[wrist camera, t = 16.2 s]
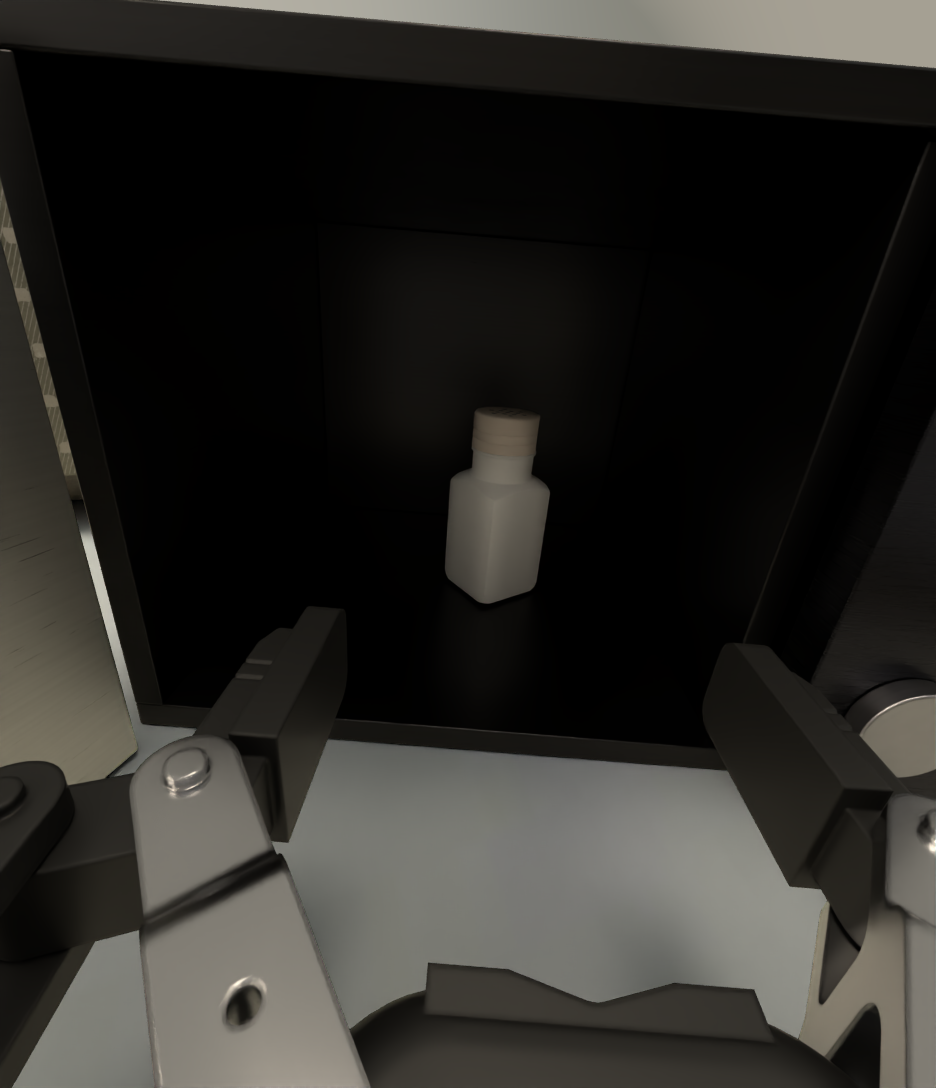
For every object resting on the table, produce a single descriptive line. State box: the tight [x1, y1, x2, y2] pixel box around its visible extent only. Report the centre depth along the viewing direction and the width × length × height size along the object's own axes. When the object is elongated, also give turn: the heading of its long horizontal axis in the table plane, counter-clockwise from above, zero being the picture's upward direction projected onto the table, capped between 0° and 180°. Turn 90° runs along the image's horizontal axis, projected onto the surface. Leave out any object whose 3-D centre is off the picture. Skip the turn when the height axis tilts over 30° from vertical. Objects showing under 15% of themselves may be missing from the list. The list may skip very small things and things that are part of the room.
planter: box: [0, 180, 83, 500], centre depth 36 cm, size 25×25×24 cm
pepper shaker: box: [445, 407, 550, 604], centre depth 26 cm, size 4×4×10 cm
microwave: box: [0, 0, 936, 800], centre depth 23 cm, size 24×28×20 cm
